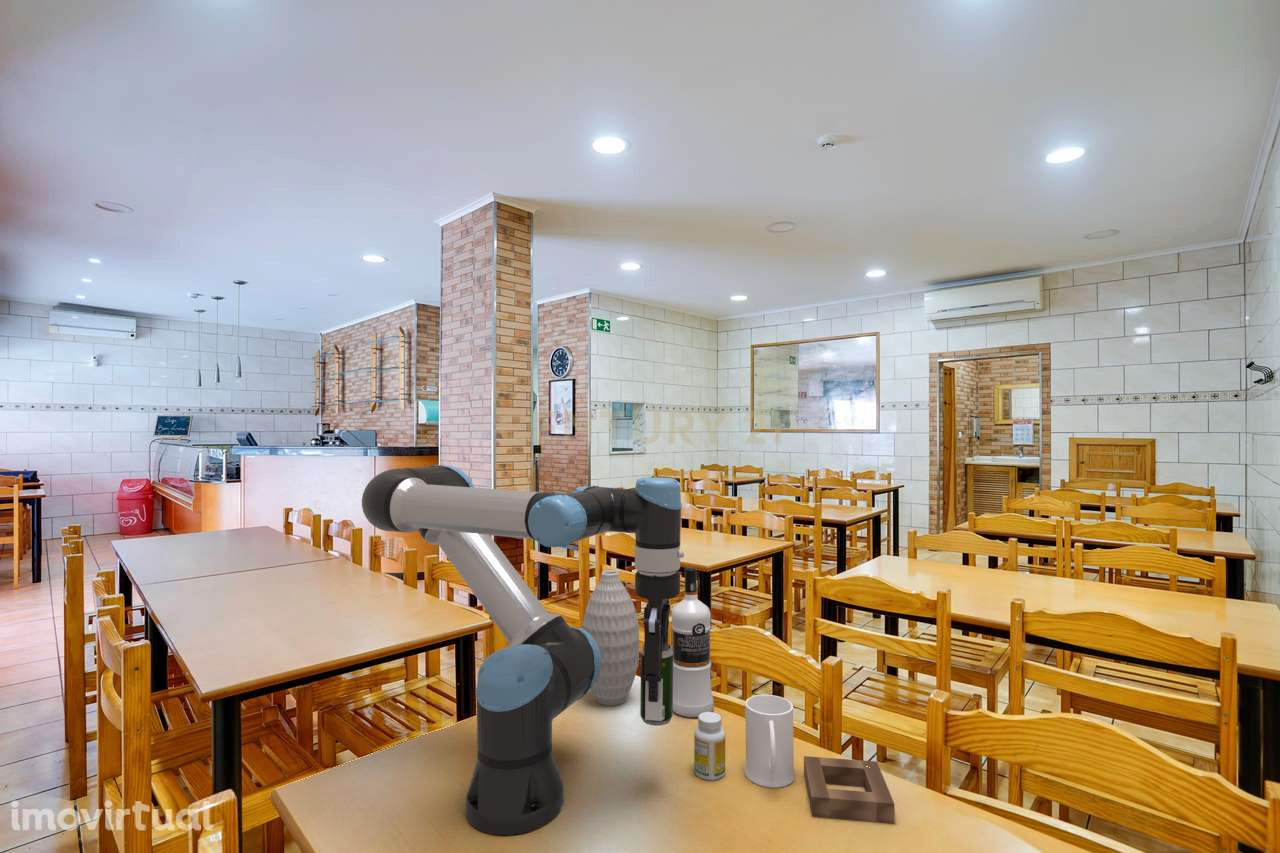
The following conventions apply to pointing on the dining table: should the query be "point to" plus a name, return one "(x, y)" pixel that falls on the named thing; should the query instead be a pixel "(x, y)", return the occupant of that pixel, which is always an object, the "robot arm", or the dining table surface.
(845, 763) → the holder
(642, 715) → the beer can
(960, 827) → the dining table surface
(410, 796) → the dining table surface
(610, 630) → the vase
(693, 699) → the vodka
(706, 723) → the supplement bottle
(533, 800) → the robot arm
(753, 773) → the mug
